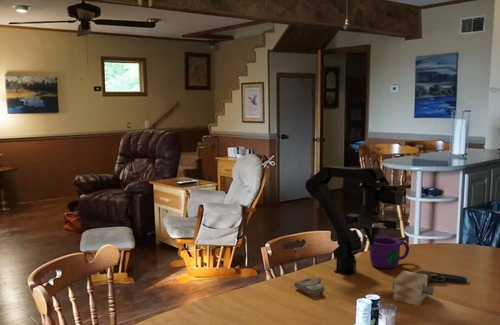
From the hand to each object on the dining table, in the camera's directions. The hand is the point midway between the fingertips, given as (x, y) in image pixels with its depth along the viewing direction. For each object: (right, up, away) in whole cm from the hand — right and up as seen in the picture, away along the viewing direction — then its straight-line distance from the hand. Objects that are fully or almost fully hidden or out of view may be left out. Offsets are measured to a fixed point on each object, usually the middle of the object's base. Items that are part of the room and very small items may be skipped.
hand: (371, 244), depth 173 cm
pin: (+9, -13, -16) cm, 23 cm away
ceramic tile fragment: (-23, -14, -10) cm, 29 cm away
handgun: (+23, -14, -4) cm, 27 cm away
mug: (+12, -11, +17) cm, 23 cm away
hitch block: (+9, -15, -16) cm, 23 cm away
